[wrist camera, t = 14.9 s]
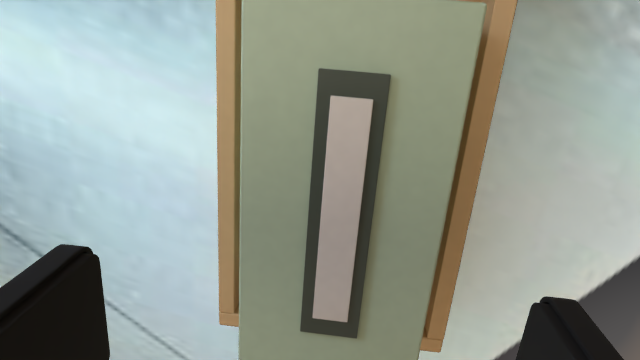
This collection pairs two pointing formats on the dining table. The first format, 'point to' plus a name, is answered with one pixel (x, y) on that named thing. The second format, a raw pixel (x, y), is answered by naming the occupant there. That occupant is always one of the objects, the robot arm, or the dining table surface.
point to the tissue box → (347, 170)
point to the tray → (464, 181)
